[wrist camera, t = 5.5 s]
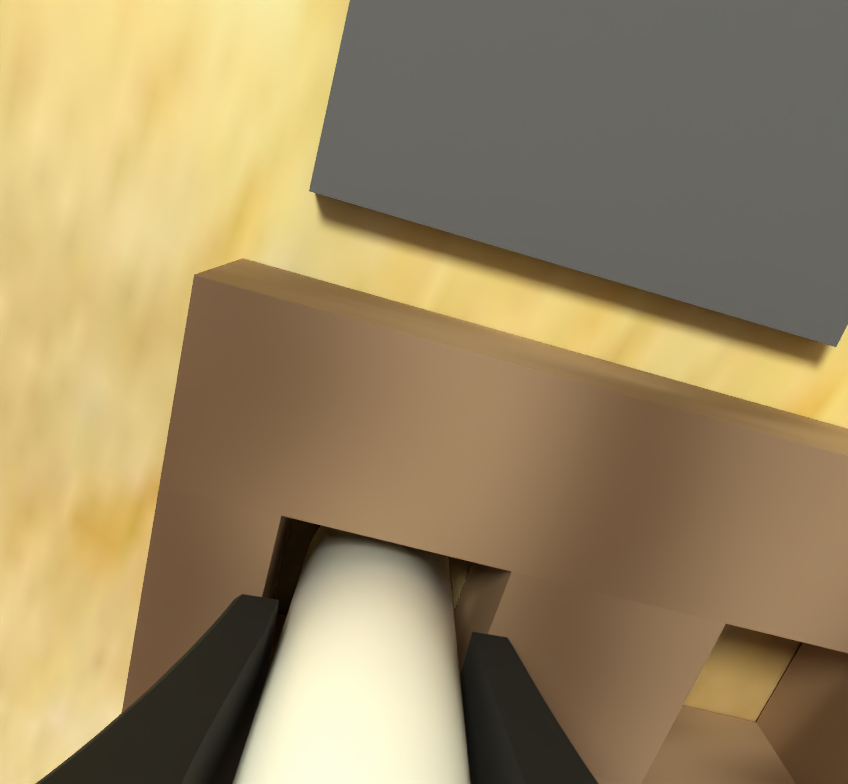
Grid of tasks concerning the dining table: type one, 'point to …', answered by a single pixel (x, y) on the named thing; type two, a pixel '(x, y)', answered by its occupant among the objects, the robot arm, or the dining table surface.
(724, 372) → the dining table surface
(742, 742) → the socket board
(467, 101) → the mat
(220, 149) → the dining table surface
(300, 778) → the plug
